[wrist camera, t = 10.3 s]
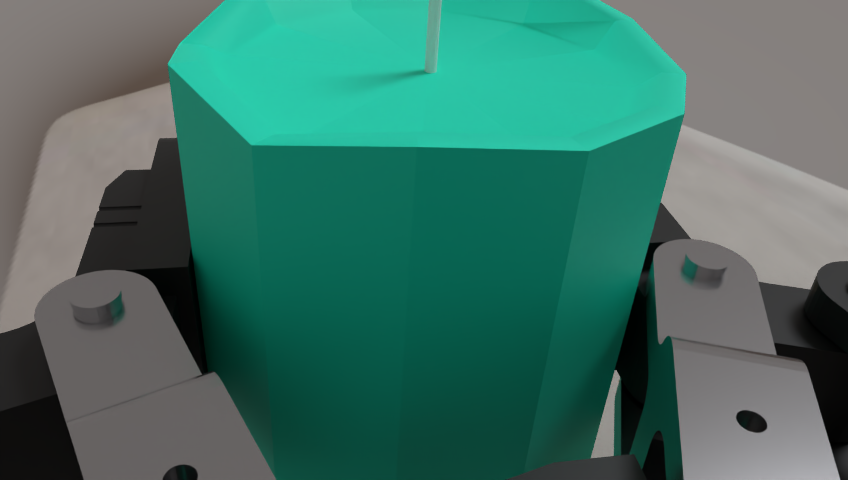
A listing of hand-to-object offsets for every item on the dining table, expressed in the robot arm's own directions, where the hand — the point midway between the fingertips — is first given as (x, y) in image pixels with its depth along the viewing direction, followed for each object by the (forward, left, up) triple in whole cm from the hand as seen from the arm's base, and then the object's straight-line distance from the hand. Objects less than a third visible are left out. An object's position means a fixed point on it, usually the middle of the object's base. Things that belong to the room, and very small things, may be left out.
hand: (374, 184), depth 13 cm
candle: (+2, +1, -7) cm, 8 cm away
